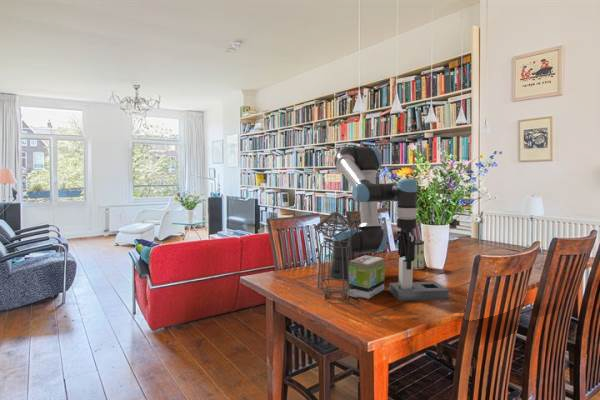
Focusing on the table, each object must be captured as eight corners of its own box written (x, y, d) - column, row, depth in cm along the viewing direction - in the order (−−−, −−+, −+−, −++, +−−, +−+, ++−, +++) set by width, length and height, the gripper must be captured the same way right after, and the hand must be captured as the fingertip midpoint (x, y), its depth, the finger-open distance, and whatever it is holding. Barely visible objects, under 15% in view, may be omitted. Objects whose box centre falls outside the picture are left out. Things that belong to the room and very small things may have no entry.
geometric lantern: (356, 290, 161) (357, 210, 158) (351, 304, 146) (351, 215, 143) (321, 288, 166) (320, 209, 163) (312, 300, 151) (311, 213, 148)
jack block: (398, 303, 146) (398, 291, 146) (389, 293, 158) (389, 282, 158) (448, 301, 148) (448, 290, 147) (435, 291, 160) (435, 281, 159)
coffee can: (405, 263, 209) (405, 238, 208) (424, 265, 205) (425, 240, 204) (402, 268, 200) (402, 242, 199) (422, 270, 195) (422, 243, 194)
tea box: (369, 301, 149) (370, 264, 148) (347, 296, 155) (347, 260, 153) (384, 291, 161) (385, 257, 160) (363, 287, 167) (364, 254, 166)
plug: (402, 289, 150) (402, 258, 149) (398, 286, 155) (399, 256, 154) (412, 289, 151) (412, 258, 150) (408, 285, 155) (409, 255, 154)
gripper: (424, 220, 142) (423, 281, 144) (408, 215, 159) (406, 269, 161) (405, 221, 141) (404, 282, 143) (390, 215, 159) (389, 269, 161)
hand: (405, 275), depth 152 cm, fingers closed on plug, 4 cm apart
